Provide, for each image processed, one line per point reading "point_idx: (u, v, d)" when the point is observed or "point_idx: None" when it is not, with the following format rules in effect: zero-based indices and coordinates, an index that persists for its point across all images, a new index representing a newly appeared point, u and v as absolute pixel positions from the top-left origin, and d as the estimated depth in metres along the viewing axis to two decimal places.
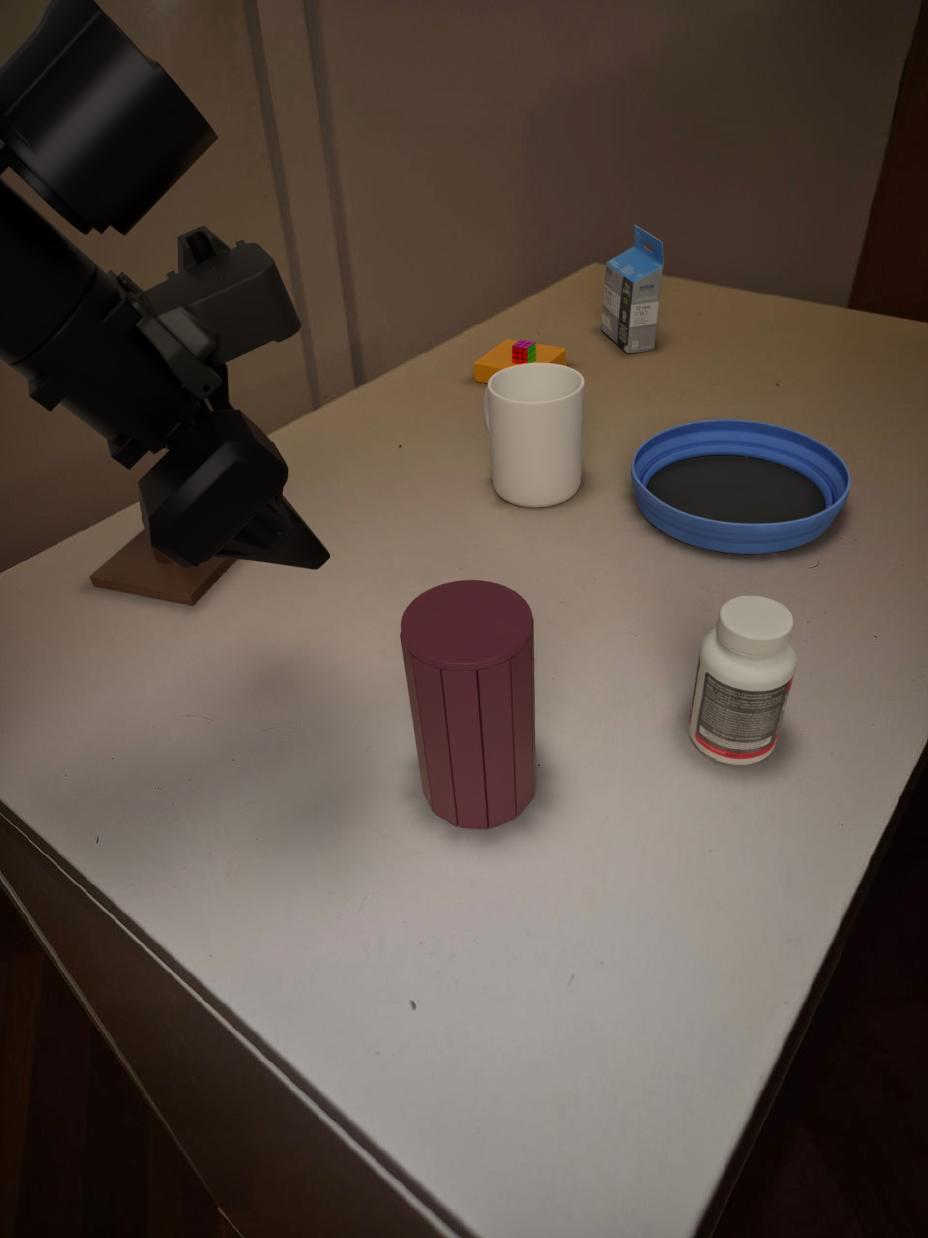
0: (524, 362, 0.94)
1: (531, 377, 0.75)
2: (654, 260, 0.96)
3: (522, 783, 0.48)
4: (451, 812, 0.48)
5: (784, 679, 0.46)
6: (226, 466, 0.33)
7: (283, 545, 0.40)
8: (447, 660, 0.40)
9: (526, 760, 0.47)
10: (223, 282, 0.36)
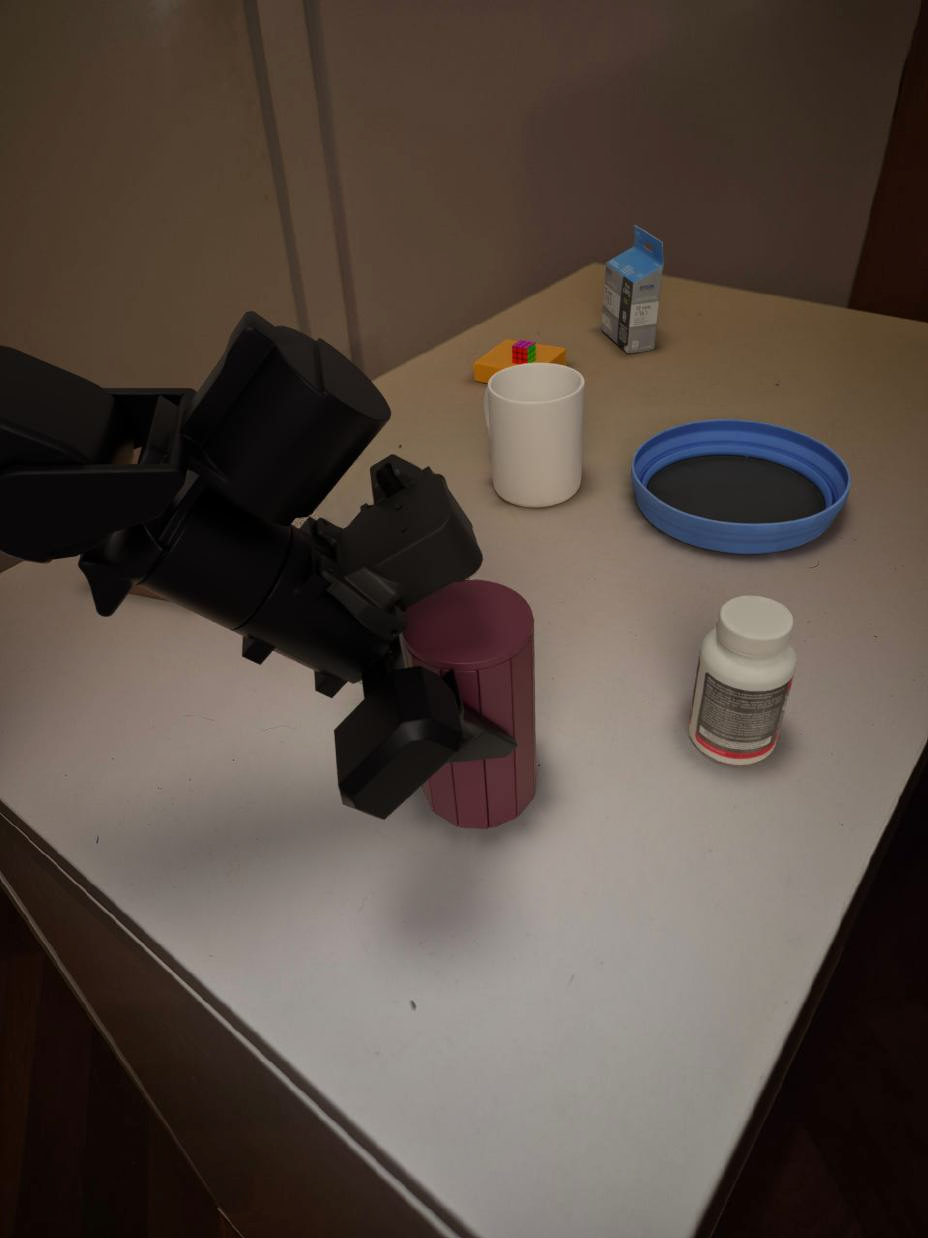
0: (524, 362, 0.94)
1: (531, 377, 0.75)
2: (654, 260, 0.96)
3: (522, 783, 0.48)
4: (451, 812, 0.48)
5: (784, 679, 0.46)
6: (402, 746, 0.34)
7: (469, 748, 0.42)
8: (447, 660, 0.40)
9: (526, 760, 0.47)
10: (404, 537, 0.37)
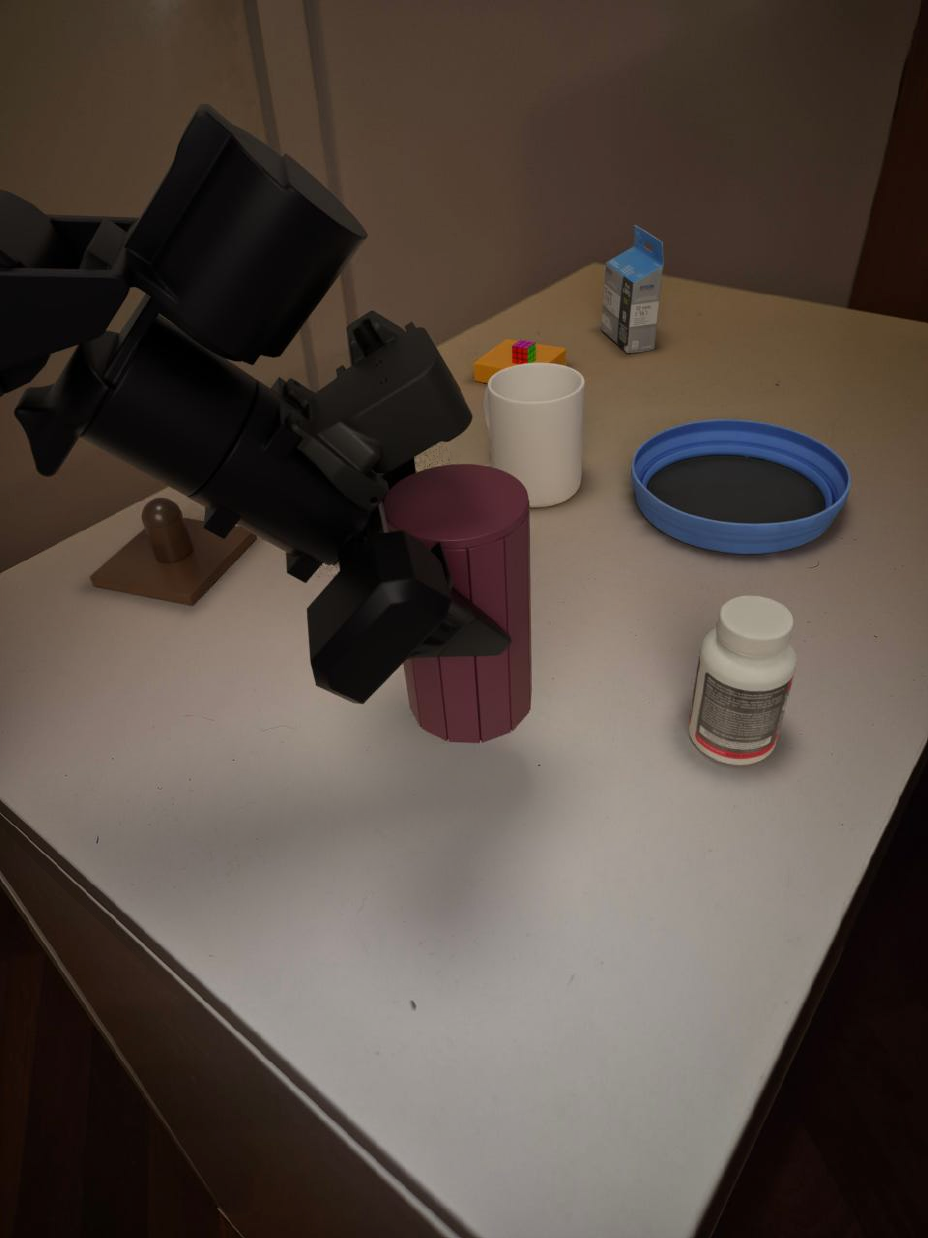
0: (524, 362, 0.94)
1: (531, 377, 0.75)
2: (654, 260, 0.96)
3: (517, 691, 0.44)
4: (440, 724, 0.44)
5: (784, 679, 0.46)
6: (382, 609, 0.30)
7: (458, 640, 0.38)
8: (434, 537, 0.36)
9: (522, 665, 0.43)
10: (384, 387, 0.33)
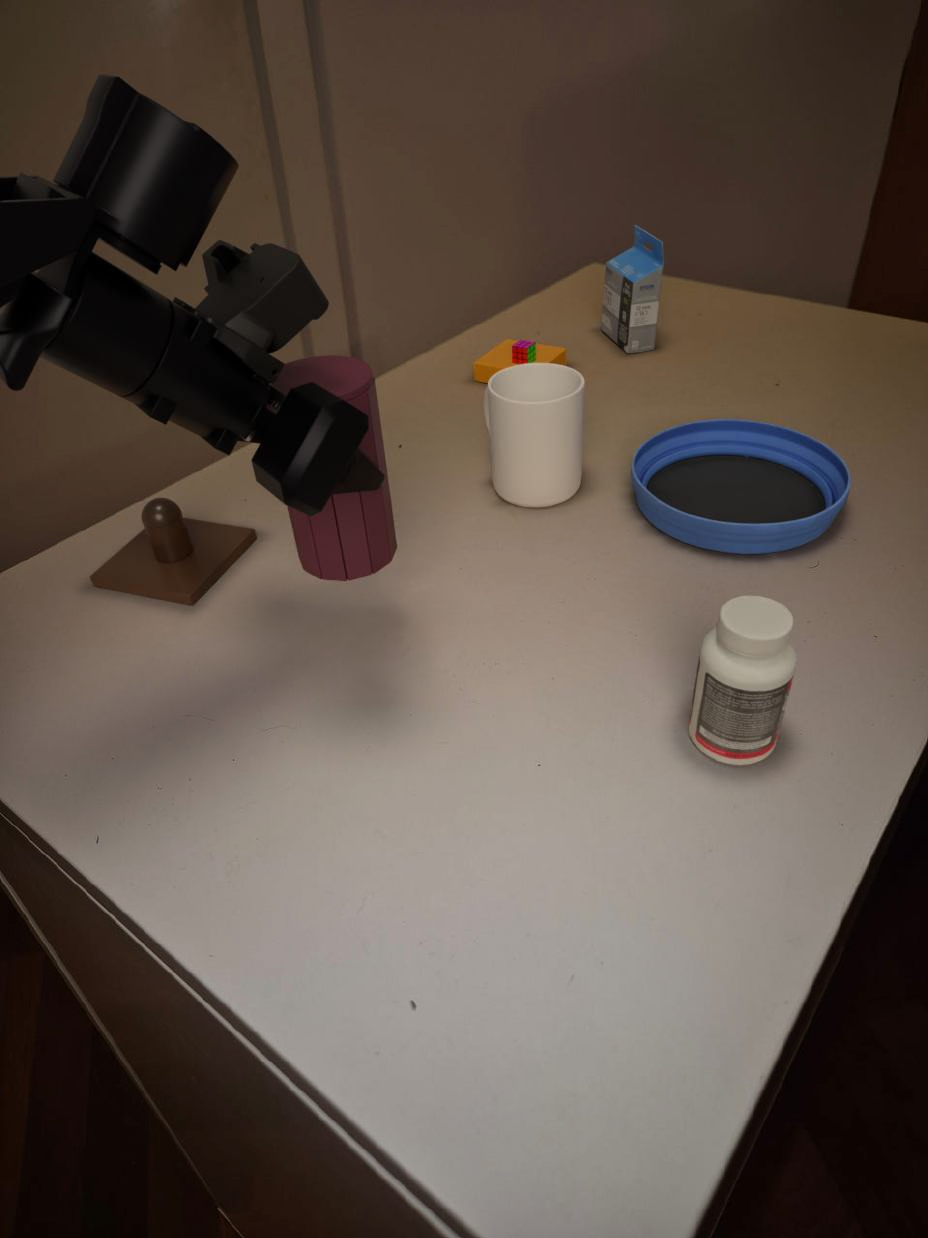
0: (524, 362, 0.94)
1: (531, 377, 0.75)
2: (654, 260, 0.96)
3: (389, 526, 0.57)
4: (339, 567, 0.56)
5: (784, 679, 0.46)
6: (328, 426, 0.42)
7: (353, 475, 0.50)
8: None
9: (388, 503, 0.56)
10: (265, 283, 0.44)
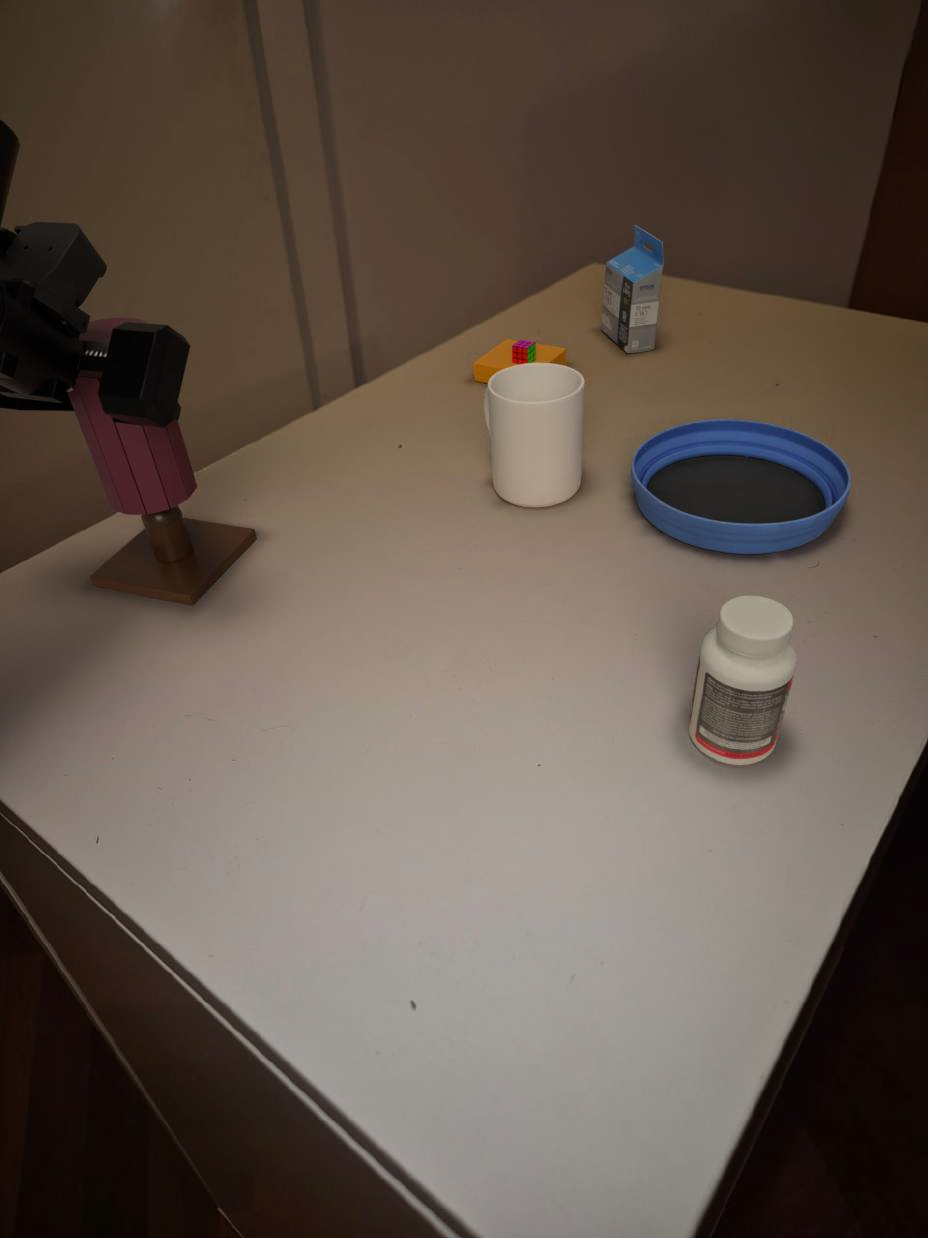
0: (524, 362, 0.94)
1: (531, 377, 0.75)
2: (654, 260, 0.96)
3: None
4: (161, 497, 0.64)
5: (784, 679, 0.46)
6: (165, 345, 0.52)
7: None
8: None
9: None
10: (56, 249, 0.53)
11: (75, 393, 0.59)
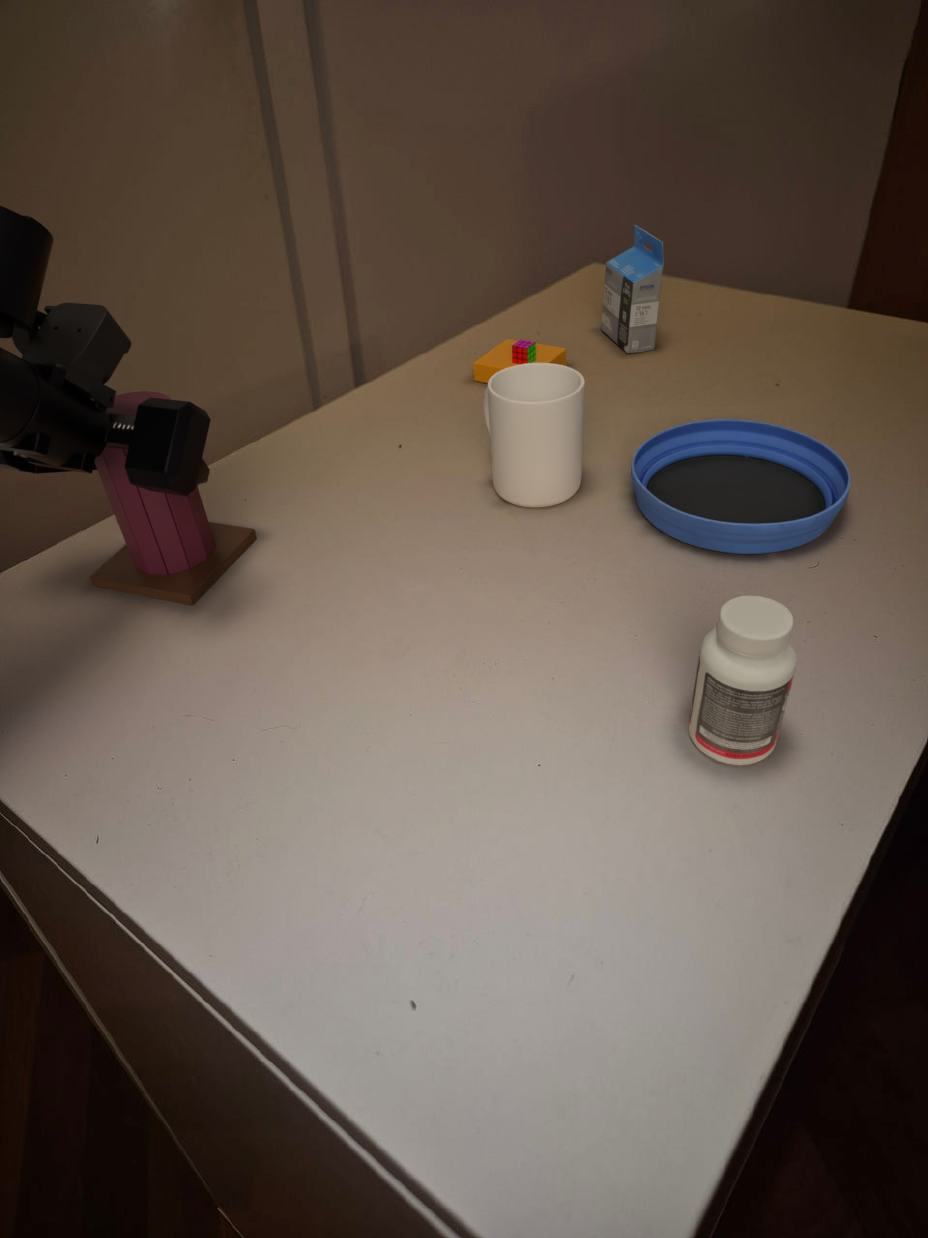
0: (524, 362, 0.94)
1: (531, 377, 0.75)
2: (654, 260, 0.96)
3: None
4: (182, 558, 0.68)
5: (784, 679, 0.46)
6: (188, 421, 0.56)
7: None
8: None
9: None
10: (85, 331, 0.56)
11: (103, 466, 0.63)
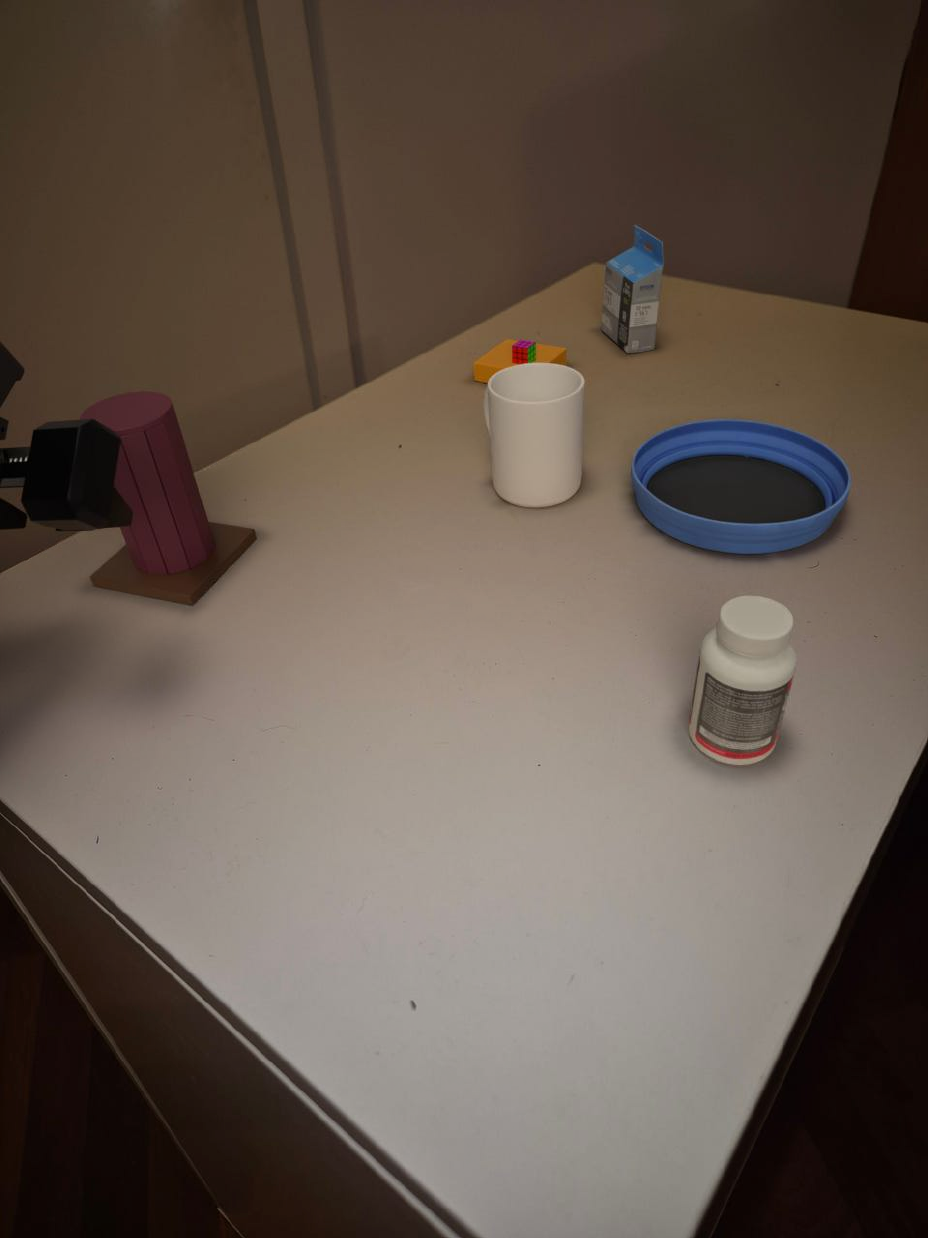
0: (524, 362, 0.94)
1: (531, 377, 0.75)
2: (654, 260, 0.96)
3: None
4: (182, 558, 0.68)
5: (784, 679, 0.46)
6: (91, 439, 0.48)
7: (112, 509, 0.55)
8: (144, 422, 0.61)
9: None
10: None
11: None
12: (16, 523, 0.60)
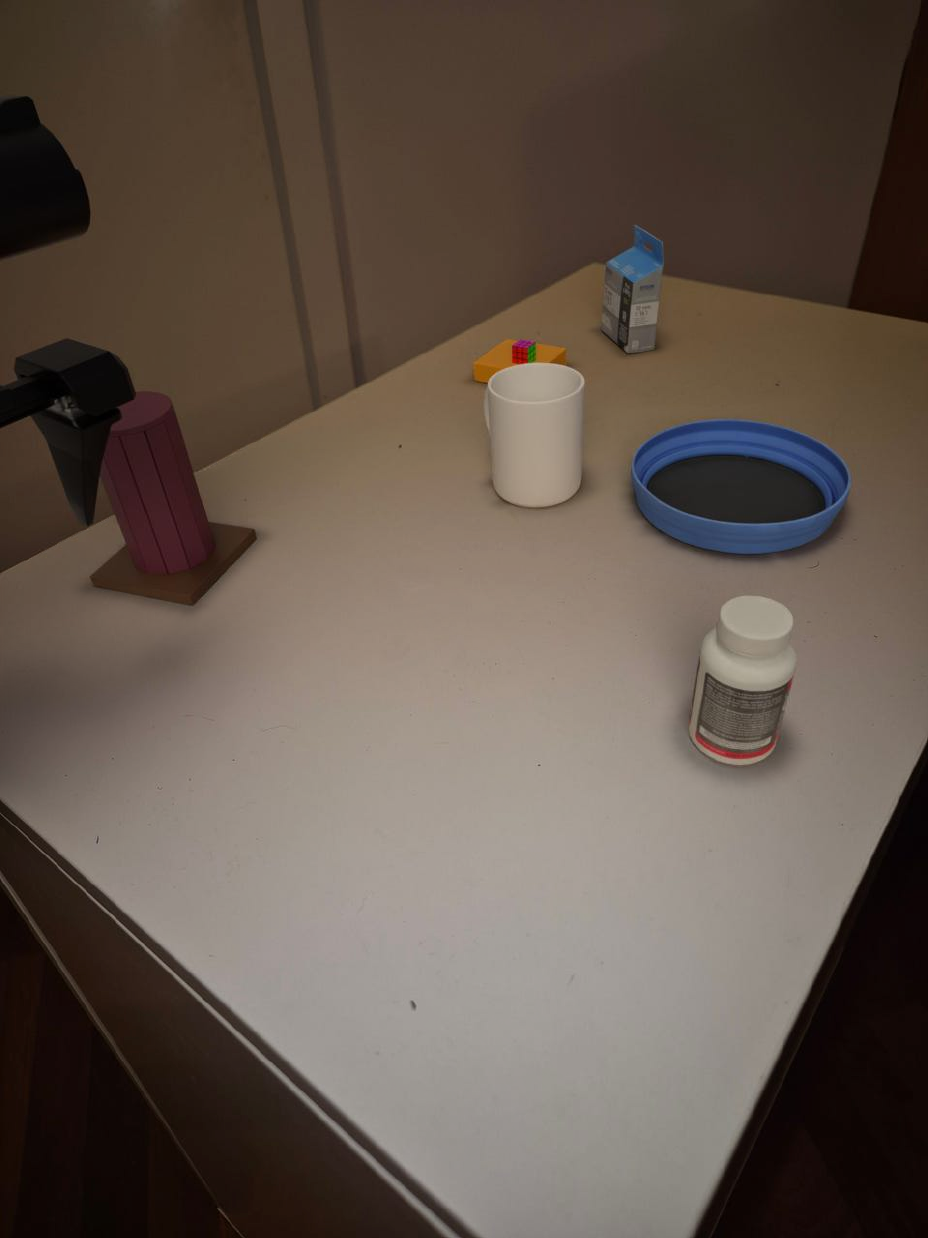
0: (524, 362, 0.94)
1: (531, 377, 0.75)
2: (654, 260, 0.96)
3: None
4: (182, 558, 0.68)
5: (784, 679, 0.46)
6: None
7: None
8: (144, 422, 0.61)
9: None
10: None
11: (103, 466, 0.63)
12: None
